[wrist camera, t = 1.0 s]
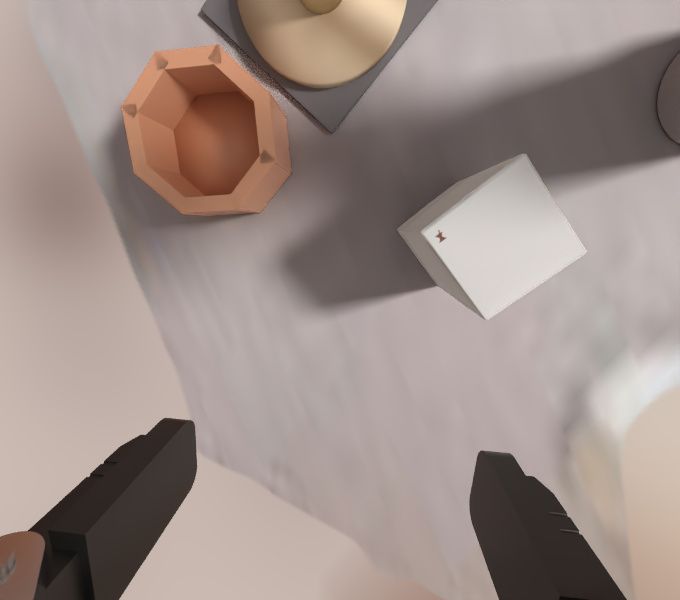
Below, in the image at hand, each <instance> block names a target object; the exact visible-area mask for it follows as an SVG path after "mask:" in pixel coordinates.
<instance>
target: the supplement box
mask: <svg viewBox="0 0 680 600" xmlns="http://www.w3.org/2000/svg"><path fill="white" fill-rule="evenodd" d="M397 231H398V233H399V234H400V235H401V237H402V238H403V239H404V241H405V242H406V243H407V245H408V246H409V248H410V249H411V251H412V252H413V253H414V255H415V256H416V258H417V259H418V260H419V262H420V263H421V264H422V266H423V267H424V268H425V270H426V271H427V272H428V274H429V275H430V276H431V278H432V279H433V280H434V282H435V283H436V284H437V285H438V286H439V287H440V288H442V289H443V290H444V291H446V292H447V293H449V294H450V295H451V296H453V297H454V298H456V299H457V300H458V301H459V302H461V303H462V304H464V305H465V306H466V307H468V308H469V309H471V310H472V311H473V312H475V313H476V314H478V315H479V316H480V317H482V318H483V319H485V320H488V319H490V318H491V317H493V316H494V315H496V314H497V313H499V312H500V311H502V310H503V309H505V308H506V307H508V306H509V305H511V304H512V303H514V302H515V301H517V300H518V299H519V298H521V297H522V296H524V295H525V294H527V293H528V292H530V291H531V290H533V289H534V288H536V287H537V286H539V285H540V284H542V283H543V282H545V281H546V280H547V279H549V278H550V277H552V276H553V275H555V274H556V273H558V272H559V271H561V270H562V269H564V268H565V267H567V266H568V265H569V264H571V263H572V262H574V261H575V260H577V259H578V258H580V257H581V256H583V255H584V254H586V253H587V250H586V249H585V248H584V246H583V244H582V243H581V241H580V240H579V238H578V237H577V235H576V234H575V232H574V230H573V229H572V227H571V226H570V224H569V223H568V221H567V220H566V218H565V217H564V215H563V214H562V212H561V210H560V209H559V207H558V206H557V204H556V202H555V201H554V199H553V197H552V196H551V194H550V192H549V191H548V189H547V187H546V186H545V184H544V182H543V181H542V179H541V177H540V176H539V174H538V173H537V171H536V169H535V168H534V166H533V164H532V163H531V161H530V159H529V158H528V156H527V155H526V154H525V153H523V154H520V155H518V156H515V157H512V158H510V159H508V160H505V161H503V162H501V163H499V164H496V165H494V166H492V167H490V168H488V169H485V170H483V171H481V172H479V173H477V174H474V175H472V176H470V177H468V178H466V179H463V180H461V181H458V182H456V183H455V184H453V185H452V186H451V187H449V188H448V189H447V190H445V191H444V192H443V193H441V194H440V195H439V196H438V197H436V198H435V199H434V200H432V201H431V202H430V203H428V204H427V205H426V206H424V207H423V208H422V209H421V210H419V211H418V212H417V213H416V214H414V215H413V216H412V217H411V218H409V219H408V220H407V221H406V222H404V223H403V224H402V225H401V226H400V227H398V228H397Z"/></svg>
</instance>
